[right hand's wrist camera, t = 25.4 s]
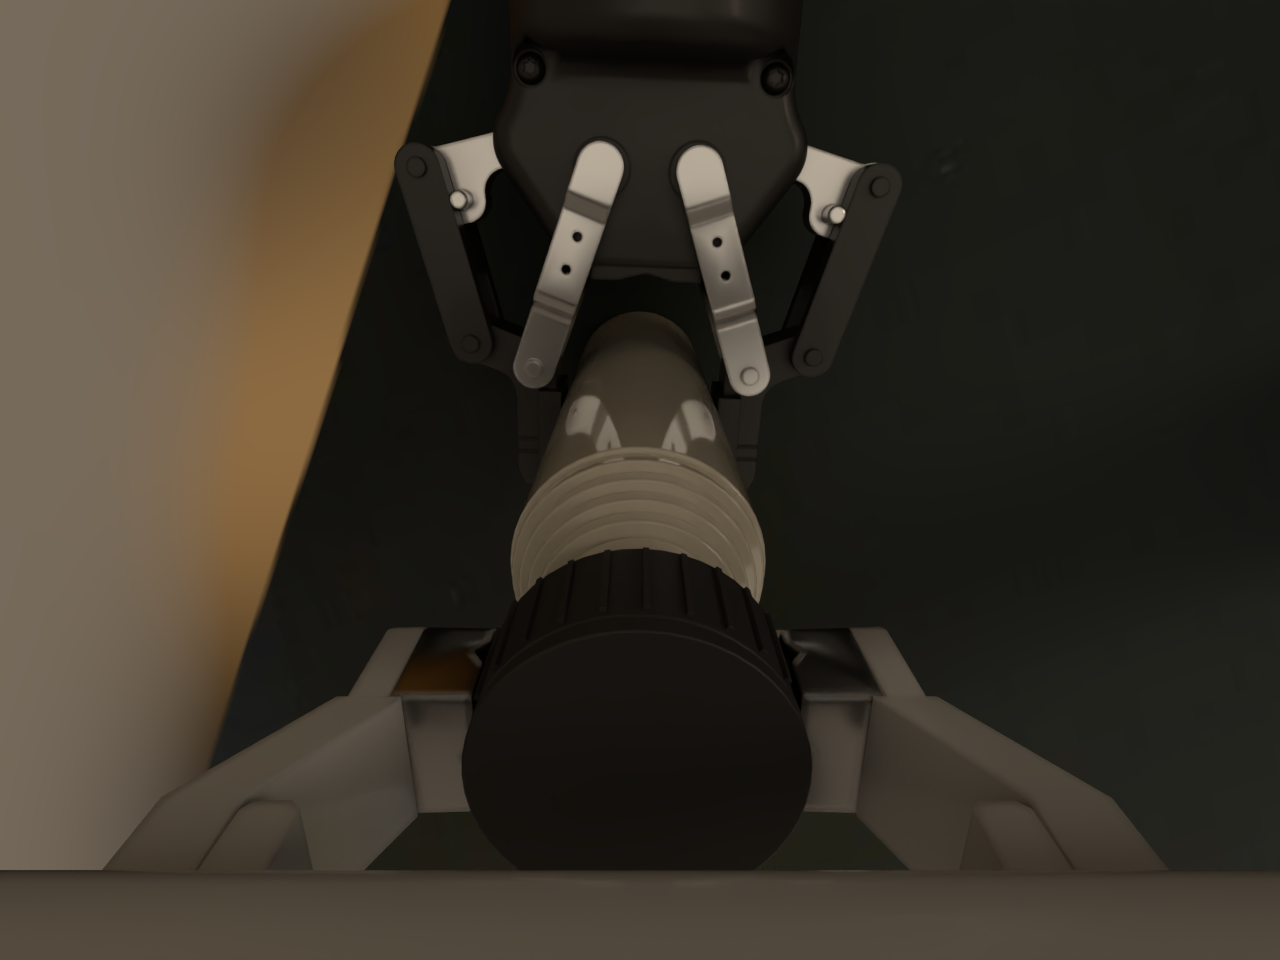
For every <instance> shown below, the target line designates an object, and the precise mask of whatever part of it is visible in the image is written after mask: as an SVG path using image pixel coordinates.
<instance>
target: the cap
mask: <svg viewBox="0 0 1280 960" xmlns="http://www.w3.org/2000/svg"><path fill="white" fill-rule="evenodd" d="M790 671H791V665H790V662H789V659H787V658H785V657H784V654H783V651H782V648H781V645H780V641H779V638H778V635H777V632H776V629H775V626H774V623H773V620H772V616H771V615H770V613H769V612H767V613H766V614H765V612H764V611H763V609H762V608H761V606H760V605H759V604H758V603H757V601H756V600H755V599H754V598H753V597H752V594H751V591H750V589H749V588H748V587H745V588H743V587H742V586H741V585H740V584H738V583H737V582H736V581H735V580H734V579H732V578H731V577H729V576H728V575H726V574H725V573H723V572H722V569H721V568H719V567H717V566H716V568H714V567H712V566H710V565H708V564H706V563H704V562H702V561H700V560H697V559H694V558H691V557H688V556H687V554H684V553H681V554H678V553H673V552H668V551H663V550H653V549H649V547H643V549H619V550H613V551H611V550H610V549H608V550H604V552H601V553H597V554H593V555H590V556H586V557H583V558H580V559H578V560H575V561H574V559H572V560H570V561H568V563H567V564H566V565H564V566H562V567H560V568H558V569H557V570H555V571H553V572H551V573H550V574H548V575H547V576H545V577H544V578H542V577H539V578H538V579H536V583H535V585H533V586H532V587H531V588H530V589H529V590H528V591H527V592H526V593H525V594H524V595H523V596H522V597H521V598H520V599H519V601H516V600H514V601H513V603H512V604H511V607H510V611H509V614H508V617H507V618H506V620H505V622H504V624H503V626H502V628H501V629H500V628H498V627H497V629H496V631H495V634H494V637H493V640H492V643H491V646H490V649H489V652H488V655H487V658H486V661H485V663H484V666H483V669H482V672H481V675H480V678H479V681H478V684H477V687H476V690H475V693H474V696H473V700H475V701H477V703H476V706H475V709H474V712H473V715H472V718H471V721H470V724H469V727H468V730H467V733H466V736H465V741H464V746H463V751H462V769H461V774H462V781H463V788H464V793H465V796H466V800H467V803H468V806H469V809H470V811H471V813H472V815H473V817H474V819H475V821H476V823H477V825H478V827H479V829H480V830H481V832H482V833H483V834H484V836H485V837H486V839H487V840H488V842H489V843H490V844H491V845H492V846H493V847H494V848H495V849H496V850H497V852H498V853H499V854H500V855H501V856H502V857H503V858H505V859H506V860H507V861H508V862H509V863H511V864H512V865H513V866H514V867H515V868H516V869H518V870H756V869H757V868H758V867H760V866H761V865H762V864H764V863H765V862H766V861H767V860H768V859H769V858H770V857H771V856H772V855H773V854H775V853H776V852H777V851H778V850H779V848H780V847H781V846H782V845H783V844H784V842H785V841H786V840H787V839H788V837H789V836H790V835H791V833H792V831H793V830H794V828H795V826H796V825H797V823H798V821H799V820H800V817H801V815H802V813H803V810H804V808H805V805H806V803H807V799H808V795H809V791H810V786H811V779H812V756H811V747H810V743H809V739H808V735H807V732H806V728H805V725H804V722H803V719H802V716H801V713H800V708H799V705H798V702H797V698H796V695H795V692H794V689H793V686H792V679H791V676H790Z"/></svg>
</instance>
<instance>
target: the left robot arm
mask: <svg viewBox="0 0 1280 960" xmlns="http://www.w3.org/2000/svg"><path fill="white" fill-rule="evenodd" d="M802 5H803V0H509V10H510V52H511V75H510V83H509V88H508V92H507V96H506V99H505V102H504V104H503V106H502V108H501V110H500V112H499V114H498V116H497V118H496V121H495V124H494V129H493V133H489V134H485V135H481V136H477V137H473V138H469V139H465V140H461V141H457V142H453V143H449V144H445V145H441V146H437V147H433V146H430V145H426V144H422V143H418V142H411V143H407V144H405V145H404V146H402V147H401V148H400V149H399V150H398V152H397V154H396V156H395V160H394V168H395V172H396V176H397V179H398V182H399V185H400V188H401V191H402V195H403V198H404V201H405V204H406V207H407V210H408V213H409V217H410V220H411V223H412V226H413V229H414V232H415V236H416V239H417V242H418V245H419V248H420V251H421V255H422V258H423V261H424V264H425V267H426V270H427V273H428V277H429V280H430V283H431V286H432V289H433V292H434V296H435V299H436V302H437V305H438V308H439V311H440V314H441V318H442V321H443V324H444V327H445V330H446V333H447V337H448V340H449V343H450V346H451V349H452V351H453V353H454V355H455V356H456V357H457V358H458V359H459V360H461V361H462V362H465V363H468V364H478V363H480V364H482V365H485V366H488V367H490V368H493V369H495V370H498V371H500V372H502V373H504V374H505V375H506V376H507V377H509V379H510V380H511V381H512V383H513V384H514V386H515V389H516V394H517V431H518V469H519V471H520V473H521V475H522V478H523V480H524V482H525V483H528V484H533V481H534V479H535V476H536V473H537V471H538V468H539V466H540V463H541V460H542V458H543V455H544V453H545V450H546V447H547V445H548V442H549V440H550V437H551V434H552V432H553V429H554V427H555V424H556V421H557V419H558V416H559V414H560V411H561V408H562V406H563V403H564V401H565V398H566V395H567V393H568V375H561V360H562V357H563V354H564V351H565V349H566V346H567V343H568V340H569V337H570V334H571V332H572V329H573V326H574V323H575V320H576V317H577V314H578V312H579V309H580V306H581V304H582V301H583V299H584V296H585V293H586V290H587V287H588V285H589V282H590V279H599V280H620V279H625V278H629V277H633V276H637V275H641V274H649V275H652V276H655V277H658V278H661V279H664V280H668V281H671V282H677V283H699V287H700V291H701V295H702V298H703V302H704V305H705V308H706V311H707V314H708V318H709V322H710V325H711V329H712V333H713V337H714V340H715V344H716V348H717V352H718V355H719V359H720V374H719V381H712V386H711V396H712V399H713V401H714V404H715V407H716V409H717V412H718V415H719V418H720V420H721V423H722V426H723V428H724V431H725V434H726V436H727V439H728V442H729V445H730V447H731V450H732V453H733V455H734V458H735V461H736V463H737V466H738V469H739V471H740V474H741V477H742V480H743V482H744V485H745V488H746V490H747V491H748V489H749V488H750V486H751V484H752V482H753V480H754V478H755V473H756V463H757V453H758V443H759V433H760V423H761V413H762V404H763V400H764V397H765V395H766V394H767V392H768V391H769V390H770V389H771V388H772V387H773V386H775V385H776V384H778V383H781V382H783V381H787V380H790V379H793V378H796V377H799V376H804V377H808V378H814V377H818V376H821V375H823V374H824V373H826V372H827V371H828V370H829V368H830V367H831V365H832V363H833V360H834V358H835V356H836V353H837V351H838V348H839V346H840V343H841V341H842V338H843V336H844V333H845V331H846V328H847V326H848V323H849V321H850V318H851V316H852V313H853V311H854V308H855V306H856V303H857V301H858V298H859V296H860V293H861V291H862V288H863V286H864V283H865V281H866V278H867V276H868V273H869V271H870V268H871V266H872V263H873V261H874V258H875V256H876V253H877V251H878V248H879V246H880V243H881V241H882V238H883V236H884V233H885V231H886V228H887V226H888V224H889V221H890V219H891V216H892V214H893V211H894V209H895V206H896V204H897V201H898V199H899V196H900V193H901V190H902V178H901V175H900V173H899V171H898V170H897V169H896V168H895V167H894V166H892V165H891V164H888V163H869V164H860V163H857V162H854V161H851V160H849V159H846V158H843V157H840V156H837V155H834V154H831V153H828V152H825V151H822V150H819V149H816V148H813V147H810V146H808V142H807V136H806V132H805V129H804V126H803V124H802V122H801V119H800V116H799V113H798V109H797V105H796V98H795V76H796V65H797V55H798V45H799V35H800V25H801V15H802ZM503 171H504V172H505V173H506V175H507V176H508V178H509V179H510V181H511V182H512V184H513V185H514V187H515V188H516V189H517V191H518V192H519V194H520V195H521V197H522V198H523V200H524V201H525V203H526V204H527V206H528V207H529V209H530V210H531V212H532V213H533V215H534V216H535V217H536V219H537V220H538V222H539V223H540V225H541V226H542V228H543V229H544V231H545V232H546V234H547V235H548V237H549V238H550V240H551V244H550V247H549V251H548V254H547V257H546V260H545V263H544V266H543V269H542V272H541V275H540V278H539V281H538V284H537V287H536V290H535V294H534V297H533V302H532V307H531V311H530V314H529V317H528V320H527V323H526V326H525V328H523V327H521V326H518V325H516V324H513V323H511V322H509V321H506V320H504V317H503V314H502V311H501V307H500V304H499V300H498V297H497V293H496V290H495V286H494V283H493V279H492V276H491V272H490V269H489V265H488V262H487V258H486V255H485V251H484V248H483V244H482V241H481V237H480V234H479V230H478V227H477V223H476V222H478V221H481V220H483V219H484V218H485V217H486V216H487V215H488V214H489V212H490V210H491V207H492V196H491V187H492V183H493V181H494V179H495V178H496V176H497V175H498V174H500V173H501V172H503ZM793 183H795V184H796V185H797V186H798V187H799V188H800V189H801V191H802V193H803V196H804V209H803V214H802V218H803V223H804V225H805V227H806V229H807V230H808V231H809V232H810V233H812V234H814V235H816V237H815V240H814V243H813V245H812V248H811V251H810V253H809V256H808V259H807V262H806V264H805V267H804V270H803V272H802V275H801V278H800V280H799V283H798V286H797V289H796V291H795V294H794V297H793V299H792V302H791V305H790V308H789V310H788V313H787V316H786V318H785V321H784V324H783V326H782V329H781V330H780V331H777V332H774V333H771V334H768V335H765V336H761V332H760V328H759V324H758V320H757V315H756V304H755V299H754V295H753V291H752V286H751V282H750V278H749V274H748V270H747V266H746V262H745V258H744V253H743V249H742V247H743V246H744V245H745V244H746V242H747V241H748V240H749V238H750V237H751V236H752V235H753V233H754V232H755V231H756V230H757V228H758V227H759V226H760V225H761V223H762V222H763V221H764V220H765V218H766V217H767V216H768V215H769V213H770V212H771V211H772V210H773V208H774V207H775V206H776V205H777V203H778V202H779V201H780V200H781V198H782V197H783V196H784V195H785V193H786V192H787V191H788V189H789V188H790V187H791V186H792V184H793Z"/></svg>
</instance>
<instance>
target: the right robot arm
mask: <svg viewBox="0 0 1280 960" xmlns="http://www.w3.org/2000/svg"><path fill="white" fill-rule="evenodd" d="M495 631H496V629H485V628H435V627H429V628H426V627H394V628H391V629H389V630H388V631H387V632H386V633H385V635H384V636H383V638H382V640H381V641H380V643H379V645H378V646H377V648H376V650H375V651H374V653H373V655H372V656H371V658H370V660H369V661H368V663H367V665H366V666H365V668H364V670H363V671H362V673H361V675H360V676H359V678H358V680H357V681H356V683H355V685H354V686H353V688H352V690H351V691H350V693H349V695H348V696H345V697H335V698H333V699H331V700H330V701H328V702H326V703H325V704H323V705H321V706H319V707H318V708H316V709H314V710H312V711H311V712H309V713H307V714H305V715H304V716H302V717H300V718H298V719H297V720H295V721H293V722H291V723H290V724H288V725H286V726H285V727H283V728H281V729H279V730H278V731H276V732H274V733H272V734H271V735H269V736H267V737H265V738H264V739H262V740H260V741H258V742H257V743H255V744H253V745H251V746H250V747H248V748H246V749H244V750H243V751H241V752H239V753H238V754H236V755H234V756H232V757H231V758H229V759H227V760H225V761H224V762H222V763H220V764H218V765H217V766H215V767H213V768H211V769H210V770H208V771H206V772H204V773H203V774H201V775H199V776H198V777H196V778H194V779H192V780H191V781H189V782H187V783H185V784H184V785H182V786H180V787H178V788H177V789H175V790H173V791H171V792H170V793H168V794H166V795H164V796H163V797H161V798H160V800H159V801H158V802H157V803H156V804H155V806H154V807H153V808H152V809H151V811H150V812H149V813H148V814H147V816H146V817H145V818H144V819H143V820H142V822H141V823H140V824H139V825H138V827H137V828H136V829H135V830H134V832H133V833H132V834H131V835H130V836H129V838H128V839H127V840H126V841H125V843H124V844H123V845H122V846H121V848H120V849H119V850H118V851H117V852H116V854H115V855H114V856H113V857H112V859H111V860H110V861H109V862H108V863H107V865H106V866H105V867H104V868H103V870H0V960H1280V870H1168V868H1167V867H1166V866H1165V865H1164V863H1163V862H1162V861H1161V859H1160V858H1159V857H1158V856H1157V854H1156V853H1155V852H1154V851H1153V849H1152V848H1151V847H1150V846H1149V844H1148V843H1147V842H1146V841H1145V839H1144V838H1143V837H1142V836H1141V834H1140V833H1139V832H1138V830H1137V829H1136V828H1135V827H1134V825H1133V824H1132V823H1131V822H1130V820H1129V819H1128V818H1127V817H1126V815H1125V814H1124V813H1123V812H1122V810H1121V809H1120V808H1119V807H1118V805H1117V804H1116V803H1115V802H1114V800H1113V799H1112V798H1110V797H1109V796H1107V795H1105V794H1104V793H1102V792H1100V791H1098V790H1097V789H1095V788H1093V787H1092V786H1090V785H1088V784H1086V783H1085V782H1083V781H1081V780H1080V779H1078V778H1076V777H1074V776H1073V775H1071V774H1069V773H1067V772H1066V771H1064V770H1062V769H1061V768H1059V767H1057V766H1055V765H1054V764H1052V763H1050V762H1049V761H1047V760H1045V759H1043V758H1042V757H1040V756H1038V755H1037V754H1035V753H1033V752H1031V751H1030V750H1028V749H1026V748H1024V747H1023V746H1021V745H1019V744H1018V743H1016V742H1014V741H1012V740H1011V739H1009V738H1007V737H1006V736H1004V735H1002V734H1000V733H999V732H997V731H995V730H994V729H992V728H990V727H988V726H987V725H985V724H983V723H982V722H980V721H978V720H976V719H975V718H973V717H971V716H969V715H968V714H966V713H964V712H963V711H961V710H959V709H957V708H956V707H954V706H952V705H951V704H949V703H947V702H945V701H944V700H942V699H940V698H939V697H929V696H926V695H925V694H924V692H923V690H922V689H921V687H920V685H919V684H918V682H917V680H916V679H915V677H914V675H913V674H912V672H911V670H910V669H909V667H908V665H907V664H906V662H905V660H904V658H903V657H902V655H901V653H900V652H899V650H898V648H897V647H896V645H895V643H894V642H893V640H892V638H891V637H890V635H889V633H888V632H887V630H886V629H884V628H882V627H858V628H833V629H793V630H776V632H777V635H778V638H779V641H780V645H781V648H782V651H783V654H784V657H785V658H787V659H789V662H790V665H791V671H790V676H791V679H792V686H793V689H794V692H795V695H796V698H797V702H798V705H799V708H800V713H801V716H802V719H803V722H804V725H805V728H806V732H807V735H808V739H809V743H810V747H811V756H812V779H811V786H810V791H809V795H808V799H807V803H806V805H805V808H804V810H803V811H812V812H848V813H856V816H857V817H858V818H859V819H860V820H861V821H862V822H863V823H864V824H865V825H866V826H867V827H868V828H869V829H870V830H871V831H872V832H873V833H874V834H875V835H876V836H877V837H878V838H879V839H880V840H881V841H882V842H883V843H884V844H885V845H886V846H887V847H888V848H889V849H890V850H891V851H892V852H893V853H894V854H895V855H896V856H897V857H898V859H899V860H900V861H901V862H902V863H903V864H904V865H905V866H906V867H907V868H908V869H909V870H364V869H365V868H366V867H367V866H368V865H369V864H370V863H371V862H372V861H373V860H374V859H375V858H376V857H377V856H378V855H379V854H380V853H381V852H382V851H383V850H384V849H385V848H386V847H387V846H388V845H389V844H390V843H391V842H392V841H393V840H394V839H396V838H397V837H398V836H399V835H400V834H401V833H402V832H403V831H404V830H405V829H406V828H407V827H408V826H409V825H410V824H411V823H412V822H413V821H414V820H415V819H416V818H417V817H418V815H417V813H426V812H461V811H470V809H469V806H468V803H467V800H466V796H465V793H464V788H463V781H462V774H461V769H462V751H463V746H464V741H465V736H466V733H467V730H468V727H469V724H470V721H471V718H472V715H473V712H474V709H475V706H476V703H477V701H475V700H473V696H474V693H475V690H476V687H477V684H478V681H479V678H480V675H481V672H482V669H483V666H484V663H485V661H486V658H487V655H488V652H489V649H490V646H491V643H492V640H493V637H494V634H495Z"/></svg>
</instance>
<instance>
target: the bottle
mask: <svg viewBox="0 0 1280 960" xmlns="http://www.w3.org/2000/svg"><path fill="white" fill-rule="evenodd" d="M643 547H649V549H653V550H663V551H668V552H673V553H678V554H681V553H684V554H687V556H688V557H691V558H694V559H697V560H700V561H702V562H704V563H706V564H708V565H710V566H712V567H714V568H716V566H717V567H719V568H721V569H722V572H723V573H725V574H726V575H728V576H729V577H731V578H732V579H734V580H735V581H736V582H737V583H738V584H740V585H741V586H742V587H743V588H745V587H748V588H749V589H750V591H751V594H752V597H753V598H754V599H755V600H756V601H757V603H758V604H759V601H760V597H761V593H762V589H763V581H764V576H765V564H766V556H765V544H764V540H763V535H762V531H761V528H760V525H759V523H758V520H757V517H756V515H755V512H754V509H753V507H752V504H751V501H750V498H749V496H748V493H747V490H746V488H745V485H744V482H743V480H742V477H741V474H740V471H739V469H738V466H737V463H736V461H735V458H734V455H733V453H732V450H731V447H730V445H729V442H728V439H727V436H726V434H725V431H724V428H723V426H722V423H721V420H720V418H719V415H718V412H717V409H716V407H715V404H714V401H713V399H712V396H711V393H710V391H709V388H708V385H707V383H706V380H705V377H704V374H703V372H702V369H701V366H700V364H699V361H698V358H697V356H696V353H695V350H694V348H693V345H692V343H691V342H690V340H689V338H688V337H687V335H686V334H685V333H684V332H683V331H682V330H681V328H680V327H678V326H677V325H676V324H675V323H673V322H672V321H670V320H669V319H667V318H665V317H662V316H660V315H657V314H654V313H649V312H629V313H625V314H621V315H618V316H616V317H613V318H612V319H610V320H608V321H606V322H605V323H604V324H602V325H601V326H600V327H599V328H598V329H597V330H596V331H595V332H594V333H593V335H592V336H591V337H590V339H589V340H588V342H587V344H586V346H585V349H584V351H583V354H582V356H581V359H580V362H579V364H578V367H577V369H576V372H575V375H574V377H573V380H572V382H571V385H570V388H569V390H568V393H567V395H566V398H565V401H564V403H563V406H562V408H561V411H560V414H559V416H558V419H557V421H556V424H555V427H554V429H553V432H552V434H551V437H550V440H549V442H548V445H547V447H546V450H545V453H544V455H543V458H542V460H541V463H540V466H539V468H538V471H537V473H536V476H535V479H534V481H533V484H532V486H531V489H530V492H529V494H528V497H527V499H526V502H525V505H524V507H523V510H522V512H521V515H520V518H519V520H518V523H517V525H516V528H515V532H514V536H513V540H512V545H511V557H510V561H511V575H512V581H513V588H514V593H515V597H516V601H519V599H520V598H521V597H522V596H523V595H524V594H525V593H526V592H527V591H528V590H529V589H530V588H531V587H532V586H533V585H535V583H536V579H538V578H539V577H542V578H544V577H545V576H547V575H548V574H550V573H551V572H553V571H555V570H557V569H558V568H560V567H562V566H564V565H566V564H567V563H568V561H570V560H572V559H574V561H575V560H578V559H580V558H583V557H586V556H590V555H593V554H597V553H601V552H604V550H608V549H610V550H611V551H613V550H619V549H643Z"/></svg>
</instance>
